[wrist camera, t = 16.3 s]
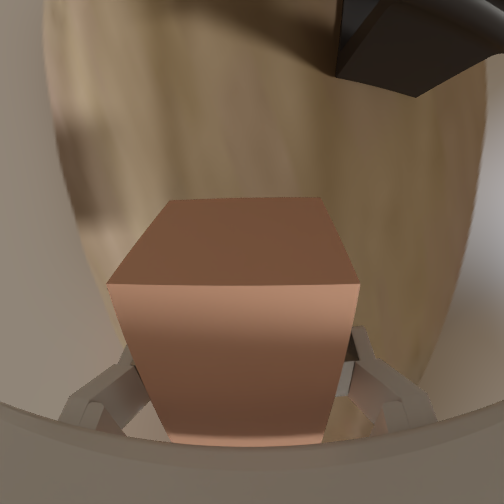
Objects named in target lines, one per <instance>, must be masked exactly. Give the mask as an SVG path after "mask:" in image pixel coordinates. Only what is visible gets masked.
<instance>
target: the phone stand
mask: <svg viewBox="0 0 504 504" xmlns="http://www.w3.org/2000/svg"><path fill="white" fill-rule="evenodd" d="M501 53H504V0H343V7H342V21H341V29H340V39H339V48H338V57H337V66H336V78H341V79H346V80H351V81H355V82H360V83H364V84H368V85H372V86H376V87H380V88H384V89H388V90H391V91H395V92H398V93H402V94H405V95H409V96H412V97H415V98H416V97H418V96H420V95H421V94H423V93H425V92H427V91H428V90H430V89H432V88H434V87H435V86H437V85H439V84H441V83H443V82H444V81H446V80H448V79H450V78H452V77H453V76H455V75H457V74H459V73H461V72H462V71H464V70H466V69H468V68H470V67H472V66H473V65H475V64H477V63H479V62H481V61H483V60H485V59H487V58H488V57H490V56H492V55H495V54H501Z"/></svg>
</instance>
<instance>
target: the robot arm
mask: <svg viewBox="0 0 504 504" xmlns="http://www.w3.org/2000/svg"><path fill="white" fill-rule="evenodd" d="M337 396H348V397H349V398H350V399H351V400H352V402H353V403H354V404H355V405H356V406H357V407H358V408H359V409H360V410H361V411H362V412H363V413H364V414H365V415H366V416H367V417H368V419H369V420H370V421H371V422H372V423H373V424H374V427H373V429H372V432H371V434H370V436H369V437H365V438H359V439H352V440H345V441H337V442H328V443H318V444H306V445H292V446H267V447H231V446H207V445H192V444H180V443H170V442H161V441H154V440H147V439H140V438H133V437H127V436H126V435H125V433H124V432H123V431H122V429H123V428H124V427H125V426H126V425H127V424H128V423H129V422H130V421H131V420H132V419H133V418H134V417H135V416H136V415H137V413H138V412H139V411H140V410H141V409H142V408H143V407H144V406H145V405H146V404H147V403H148V402H149V401H150V398H149V395H148V393H147V391H146V389H145V386H144V384H143V382H142V380H141V377H140V375H139V372H138V370H137V368H136V365H135V363H134V360H133V358H132V355H131V353H130V350H129V348H128V345H126V347H125V349H124V351H123V353H122V356H121V358H120V360H119V362H118V364H117V365H116V364H114V365H112V366H111V367H110V368H108V369H107V370H105V371H104V372H103V373H101V374H100V375H99V376H97V377H96V378H94V379H93V380H91V381H90V382H89V383H87V384H86V385H85V386H83V387H82V388H80V389H79V390H78V391H76V392H75V393H73V394H72V395H71V396H69V398H68V401H67V403H66V405H65V407H64V409H63V411H62V413H61V415H60V417H59V419H58V421H56V420H53V419H50V418H46V417H43V416H40V415H36V414H34V413H31V412H28V411H25V410H22V409H19V408H16V407H13V406H11V405H8V404H6V403H3V402H0V504H504V400H502V401H499V402H497V403H494V404H492V405H489V406H486V407H483V408H480V409H477V410H475V411H472V412H469V413H466V414H462V415H459V416H456V417H453V418H449V419H446V420H442V421H439V422H438V421H437V418H436V415H435V412H434V410H433V407H432V405H431V402H430V399H429V396H428V394H427V393H426V392H425V391H423V390H422V389H421V388H419V387H418V386H417V385H415V384H414V383H412V382H411V381H410V380H408V379H407V378H406V377H404V376H403V375H402V374H400V373H399V372H398V371H396V370H395V369H393V368H392V367H391V366H389V365H388V364H387V363H385V362H384V361H383V360H381V359H380V358H378V359H376V358H375V355H374V352H373V349H372V347H371V344H370V341H369V338H368V335H367V332H366V329H365V327H364V326H355V327H352V329H351V334H350V339H349V343H348V347H347V352H346V356H345V360H344V364H343V368H342V372H341V376H340V380H339V384H338V387H337V391H336V395H335V397H337Z"/></svg>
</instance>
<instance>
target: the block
mask: <svg viewBox="0 0 504 504" xmlns="http://www.w3.org/2000/svg"><path fill="white" fill-rule="evenodd" d="M106 284H107V288H108V291H109V294H110V297H111V300H112V303H113V306H114V309H115V312H116V315H117V318H118V321H119V324H120V326H121V329H122V332H123V335H124V337H125V340H126V343H127V345H128V348H129V350H130V353H131V355H132V358H133V360H134V363H135V365H136V368H137V370H138V372H139V375H140V377H141V380H142V382H143V384H144V386H145V389H146V391H147V393H148V395H149V398H150V400H151V402H152V404H153V406H154V408H155V410H156V412H157V415H158V417H159V419H160V421H161V423H162V425H163V426H164V429H165V431H166V432H167V435H168V436H169V438H170V440H171V442H172V443H180V444H192V445H207V446H231V447H267V446H292V445H306V444H318V443H321V441H322V438H323V435H324V432H325V429H326V425H327V422H328V419H329V416H330V412H331V409H332V405H333V402H334V398H335V395H336V391H337V387H338V384H339V380H340V376H341V372H342V368H343V364H344V360H345V356H346V352H347V347H348V343H349V339H350V334H351V329H352V325H353V320H354V315H355V310H356V305H357V300H358V295H359V289H360V282H359V279H358V277H357V275H356V272H355V270H354V268H353V266H352V263H351V261H350V259H349V257H348V254H347V252H346V250H345V248H344V246H343V243H342V241H341V239H340V237H339V235H338V233H337V231H336V228H335V226H334V224H333V222H332V220H331V218H330V216H329V214H328V212H327V210H326V208H325V206H324V204H323V202H322V200H321V198H320V197H270V198H221V199H193V200H172V201H169V202H168V203H167V205H166V206H165V207H164V208H163V209H162V211H161V212H160V213H159V214H158V216H157V217H156V218H155V219H154V221H153V222H152V223H151V224H150V226H149V227H148V228H147V230H146V231H145V232H144V233H143V235H142V236H141V237H140V239H139V240H138V241H137V242H136V244H135V245H134V246H133V248H132V249H131V250H130V252H129V253H128V254H127V256H126V257H125V258H124V260H123V261H122V263H121V264H120V265H119V267H118V268H117V269H116V271H115V272H114V274H113V275H112V276H111V278H110V279H109V281H108V282H107V283H106Z"/></svg>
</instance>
